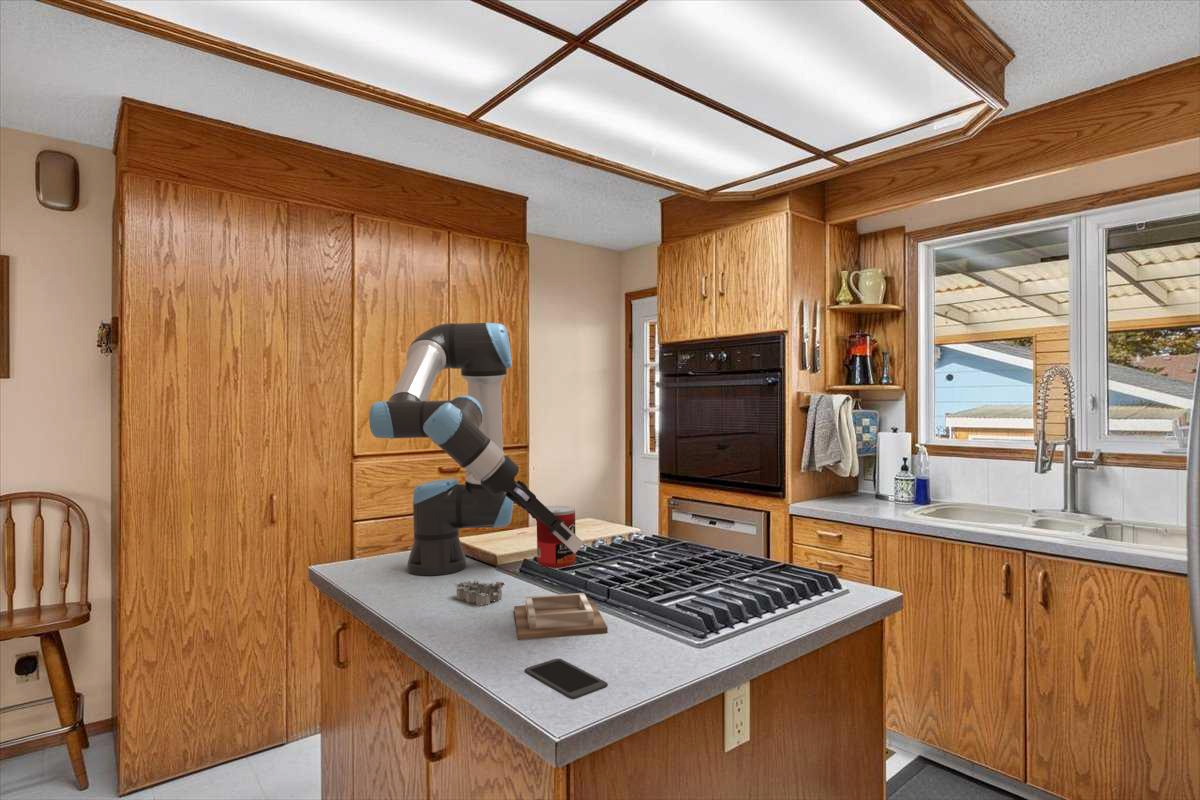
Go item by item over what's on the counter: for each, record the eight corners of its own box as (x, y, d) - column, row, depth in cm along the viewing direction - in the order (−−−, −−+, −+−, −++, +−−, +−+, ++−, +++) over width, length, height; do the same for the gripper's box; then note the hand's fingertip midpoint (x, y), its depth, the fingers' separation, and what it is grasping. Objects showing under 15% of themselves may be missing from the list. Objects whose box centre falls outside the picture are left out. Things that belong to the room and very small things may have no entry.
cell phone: (572, 702, 100) (572, 697, 100) (522, 673, 111) (522, 668, 111) (609, 688, 105) (609, 683, 105) (558, 661, 116) (558, 657, 116)
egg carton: (507, 600, 150) (506, 582, 150) (479, 609, 145) (479, 590, 145) (478, 591, 157) (478, 573, 157) (451, 598, 152) (451, 580, 152)
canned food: (561, 570, 129) (560, 513, 129) (529, 564, 134) (528, 509, 134) (583, 561, 136) (582, 507, 136) (551, 556, 140) (551, 504, 140)
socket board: (514, 610, 142) (513, 594, 142) (593, 605, 145) (592, 589, 145) (518, 639, 125) (518, 621, 125) (607, 632, 128) (607, 614, 128)
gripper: (470, 476, 139) (546, 546, 145) (488, 490, 120) (575, 570, 125) (495, 450, 141) (569, 520, 147) (517, 459, 121) (601, 539, 127)
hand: (572, 543), depth 136 cm, fingers closed on canned food, 8 cm apart
